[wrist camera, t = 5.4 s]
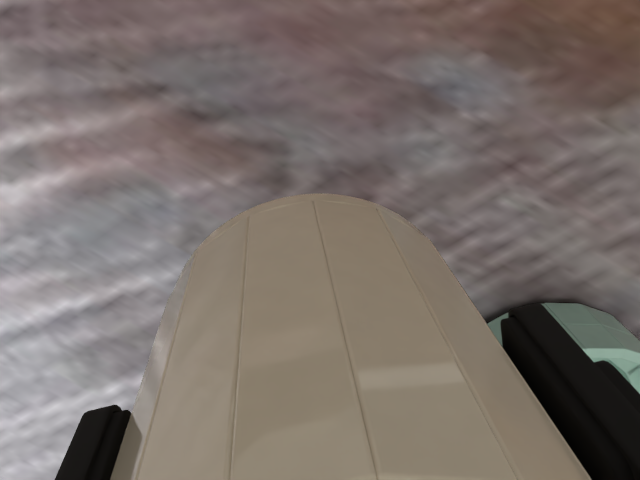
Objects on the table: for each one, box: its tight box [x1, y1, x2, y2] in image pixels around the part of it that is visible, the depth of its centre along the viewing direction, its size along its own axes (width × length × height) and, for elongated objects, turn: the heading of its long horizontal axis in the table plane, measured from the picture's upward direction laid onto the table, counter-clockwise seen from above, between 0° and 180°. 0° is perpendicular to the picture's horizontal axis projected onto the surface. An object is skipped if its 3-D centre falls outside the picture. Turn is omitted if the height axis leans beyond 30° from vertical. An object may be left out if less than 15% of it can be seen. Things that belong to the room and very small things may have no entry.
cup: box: [110, 193, 593, 480], centre depth 10 cm, size 7×7×8 cm
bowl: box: [487, 303, 640, 393], centre depth 32 cm, size 13×13×5 cm
